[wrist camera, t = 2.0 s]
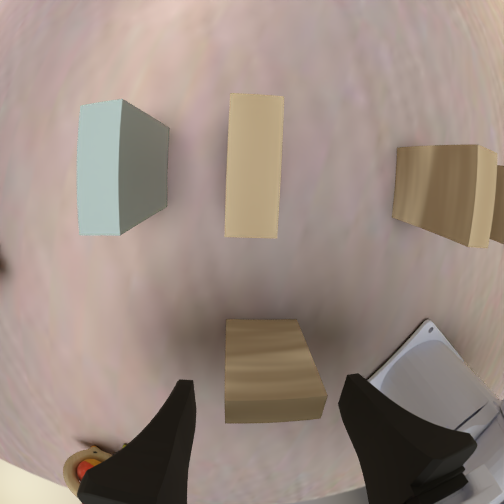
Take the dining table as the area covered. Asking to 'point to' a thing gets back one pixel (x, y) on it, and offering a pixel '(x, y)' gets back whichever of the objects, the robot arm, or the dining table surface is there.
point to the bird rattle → (82, 466)
